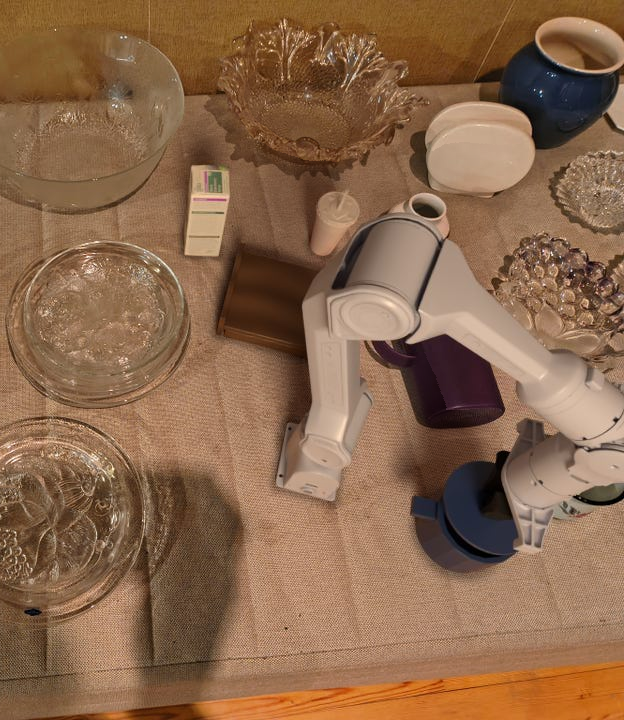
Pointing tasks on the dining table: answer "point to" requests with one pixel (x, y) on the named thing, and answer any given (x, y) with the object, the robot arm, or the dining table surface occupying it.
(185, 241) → the syrup box
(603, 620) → the dining table surface
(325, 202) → the smoothie
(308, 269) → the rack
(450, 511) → the lid
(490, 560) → the pot
